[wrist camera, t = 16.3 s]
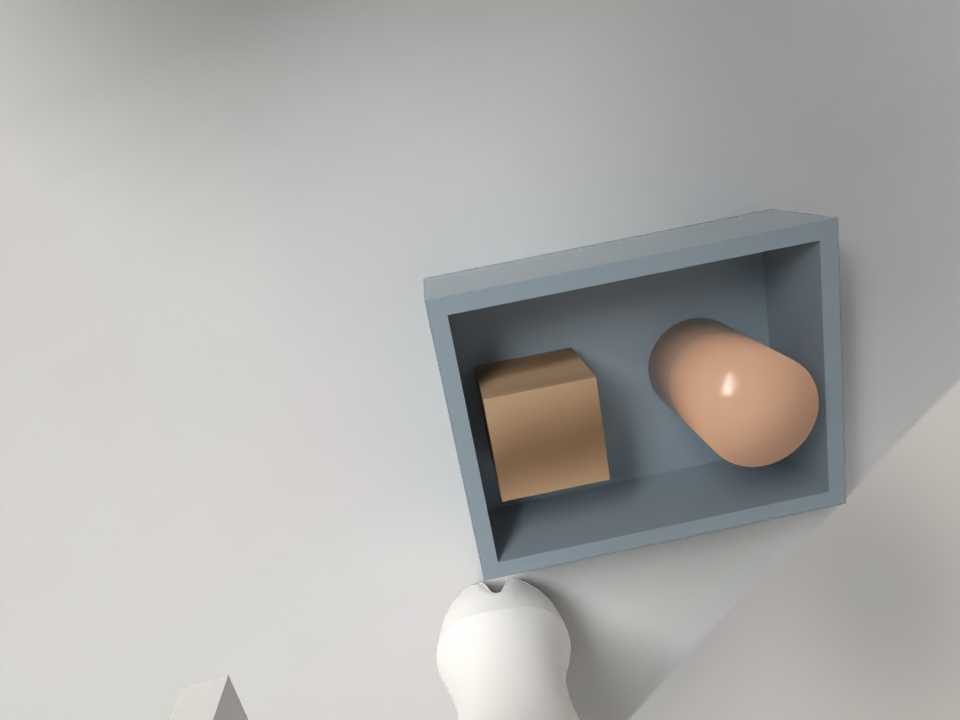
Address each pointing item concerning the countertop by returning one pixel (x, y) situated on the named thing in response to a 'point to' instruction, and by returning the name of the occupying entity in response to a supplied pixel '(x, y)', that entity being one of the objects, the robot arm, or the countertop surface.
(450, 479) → the countertop surface
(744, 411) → the capsule
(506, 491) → the cube
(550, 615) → the water bottle
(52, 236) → the countertop surface
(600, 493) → the tote
